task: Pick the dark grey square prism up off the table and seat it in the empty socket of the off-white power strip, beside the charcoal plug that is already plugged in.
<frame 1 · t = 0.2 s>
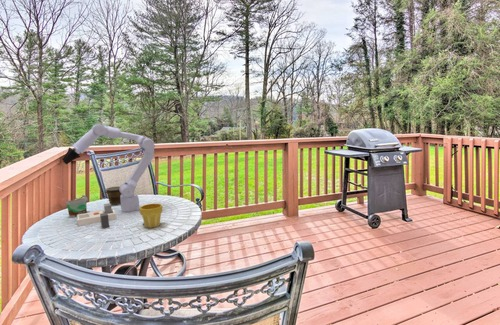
hand: (64, 161, 144), 31 cm above the table, tool tilted 45°, fingers open, 7 cm apart
power strip: (97, 221, 149), on the table
plant pot: (152, 225, 142), on the table
dark grey square prism: (105, 228, 139), on the table
charcoal plug: (108, 217, 151), point 1 cm above the table, touching power strip
food container: (81, 216, 159), on the table
ceramic cup: (113, 204, 179), on the table
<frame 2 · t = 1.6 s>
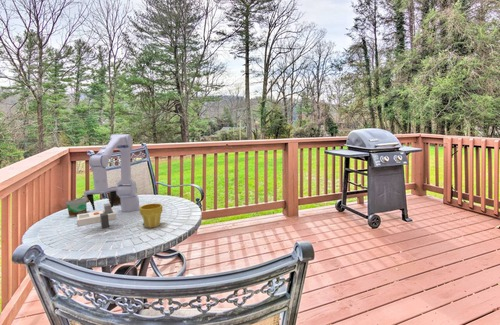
hand: (103, 208, 137), 10 cm above the table, tool pointing down, fingers open, 7 cm apart
nothing on the table moved.
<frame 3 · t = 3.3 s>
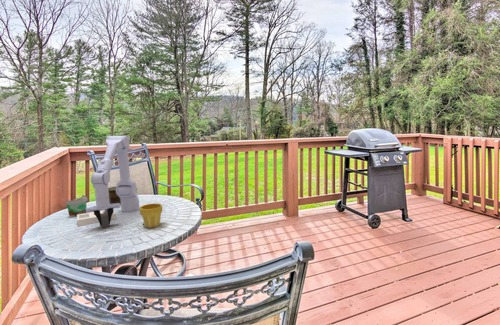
hand: (105, 224, 139), 2 cm above the table, tool pointing down, fingers closed on dark grey square prism, 3 cm apart
dark grey square prism: (105, 228, 139), on the table, touching gripper
everything else where it was.
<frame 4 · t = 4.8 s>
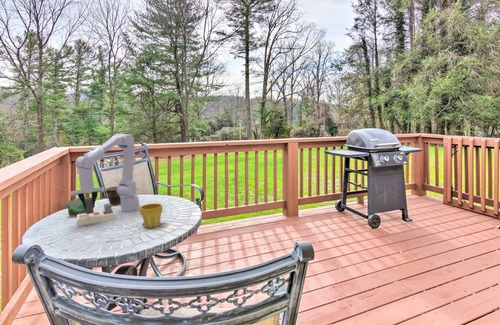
hand: (89, 207, 142), 9 cm above the table, tool pointing down, fingers closed on dark grey square prism, 3 cm apart
dark grey square prism: (89, 212, 142), point 7 cm above the table, touching gripper
everything else where it was.
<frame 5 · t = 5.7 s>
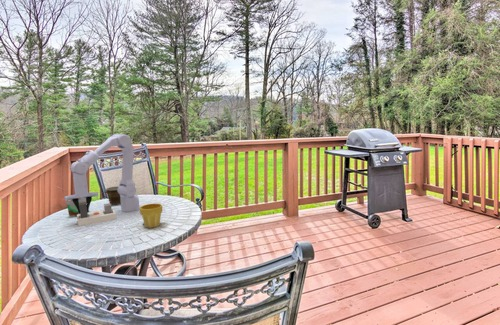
hand: (83, 212, 145), 6 cm above the table, tool pointing down, fingers closed on dark grey square prism, 3 cm apart
dark grey square prism: (84, 216, 145), point 4 cm above the table, touching gripper
everything else where it was.
when the fingers open (5 cm above the table, at t = 6.3 s): dark grey square prism drops 1 cm, resting on power strip.
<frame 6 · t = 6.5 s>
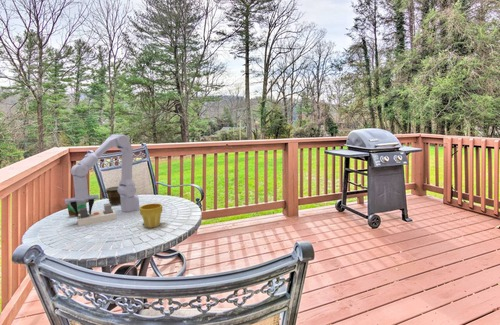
hand: (84, 215, 145), 5 cm above the table, tool pointing down, fingers open, 5 cm apart
dark grey square prism: (84, 222, 145), point 1 cm above the table, touching power strip
everything else where it was.
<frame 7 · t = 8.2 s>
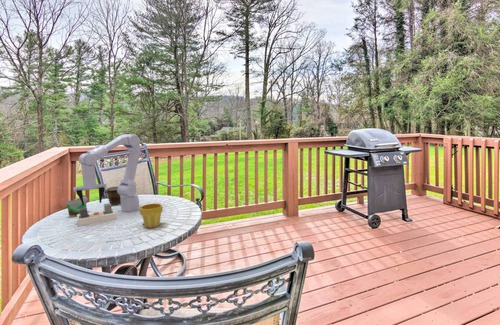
hand: (91, 203, 146), 10 cm above the table, tool pointing down, fingers open, 7 cm apart
nothing on the table moved.
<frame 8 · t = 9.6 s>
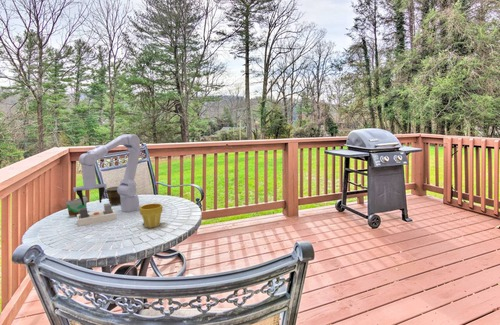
hand: (91, 203, 146), 10 cm above the table, tool pointing down, fingers open, 7 cm apart
nothing on the table moved.
at the end: dark grey square prism 0.4 cm from the target spot on the power strip, point 1.0 cm above the power strip's base; dark grey square prism tilted 0°; the gripper is holding nothing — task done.
